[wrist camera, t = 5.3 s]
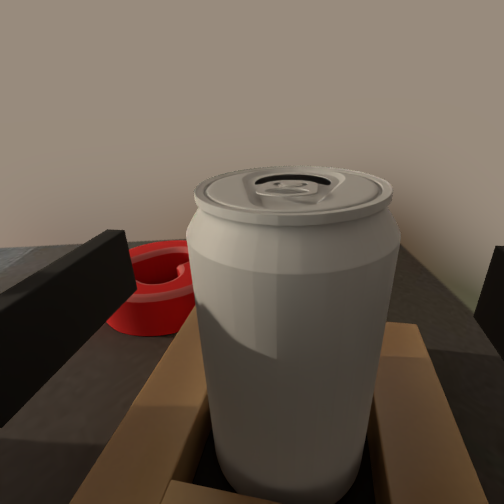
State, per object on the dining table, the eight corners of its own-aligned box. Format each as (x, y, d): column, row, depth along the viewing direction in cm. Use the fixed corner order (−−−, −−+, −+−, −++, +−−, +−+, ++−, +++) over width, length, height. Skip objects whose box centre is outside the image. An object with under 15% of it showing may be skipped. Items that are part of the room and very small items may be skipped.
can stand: (409, 357, 19) (417, 323, 18) (541, 769, 7) (586, 742, 6) (199, 334, 22) (195, 303, 21) (52, 608, 10) (25, 570, 9)
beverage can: (353, 395, 17) (386, 160, 12) (369, 548, 11) (446, 219, 6) (235, 379, 18) (218, 161, 13) (194, 509, 12) (134, 210, 7)
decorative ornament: (116, 277, 29) (108, 245, 28) (220, 263, 31) (217, 233, 30) (89, 347, 21) (76, 306, 20) (234, 324, 22) (231, 285, 21)
